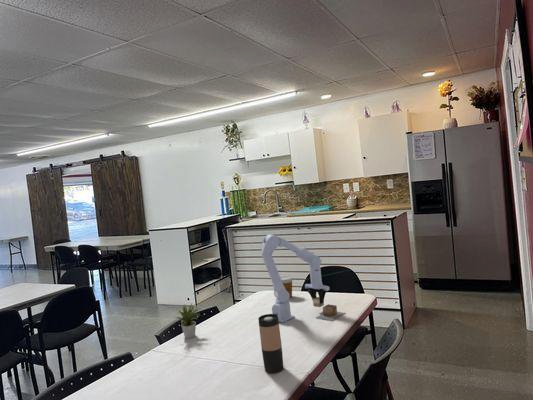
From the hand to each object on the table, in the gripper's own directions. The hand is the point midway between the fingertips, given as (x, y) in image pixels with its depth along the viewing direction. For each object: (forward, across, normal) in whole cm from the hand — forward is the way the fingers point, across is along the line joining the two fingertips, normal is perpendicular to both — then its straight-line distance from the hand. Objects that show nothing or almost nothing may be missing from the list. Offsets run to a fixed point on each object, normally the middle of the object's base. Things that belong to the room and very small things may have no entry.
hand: (318, 302), depth 208 cm
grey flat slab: (+5, -9, +3) cm, 11 cm away
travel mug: (+5, -23, +61) cm, 65 cm away
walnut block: (+4, -9, +3) cm, 11 cm away
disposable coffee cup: (+5, +35, -14) cm, 38 cm away
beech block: (+2, 0, 0) cm, 2 cm away
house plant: (+6, +37, +57) cm, 68 cm away
